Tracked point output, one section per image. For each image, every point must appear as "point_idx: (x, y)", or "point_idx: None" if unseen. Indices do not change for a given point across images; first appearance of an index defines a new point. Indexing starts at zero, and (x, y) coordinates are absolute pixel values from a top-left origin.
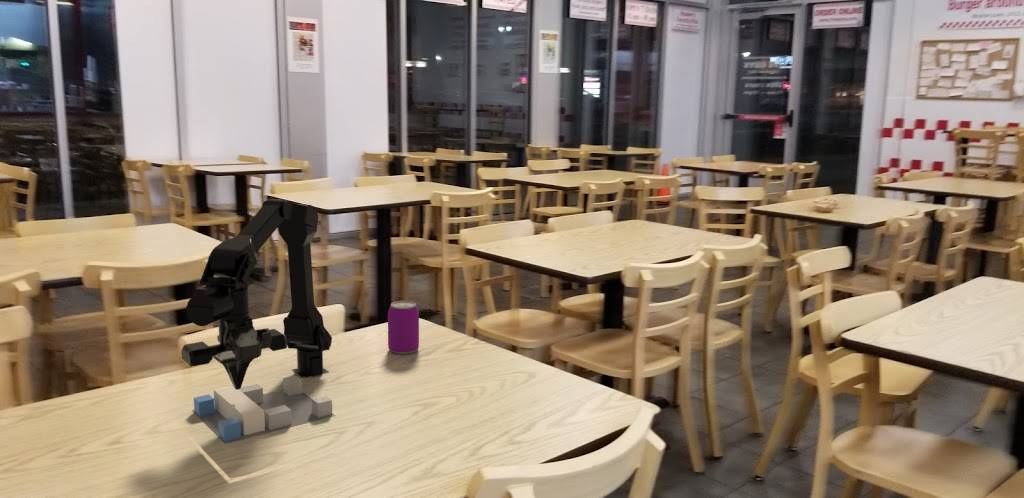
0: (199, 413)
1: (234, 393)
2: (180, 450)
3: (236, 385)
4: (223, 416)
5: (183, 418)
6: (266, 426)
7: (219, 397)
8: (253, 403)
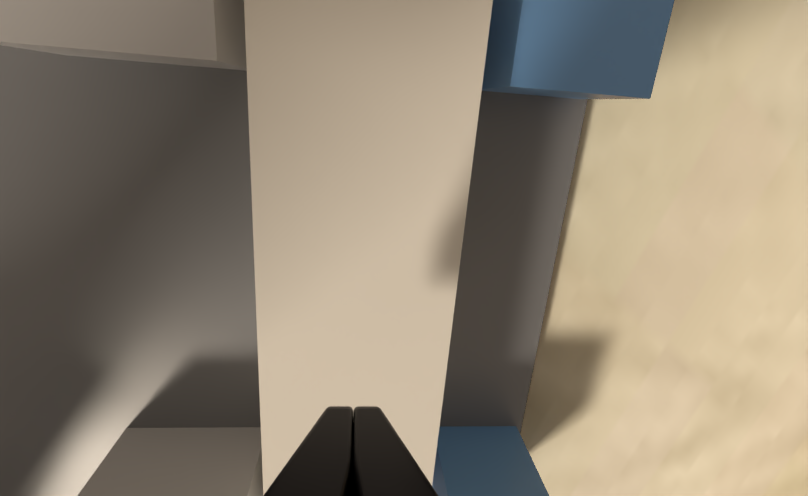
0: (521, 439)
1: None
2: (802, 93)
3: (383, 440)
4: None
5: (558, 464)
6: None
7: None
8: (269, 176)
